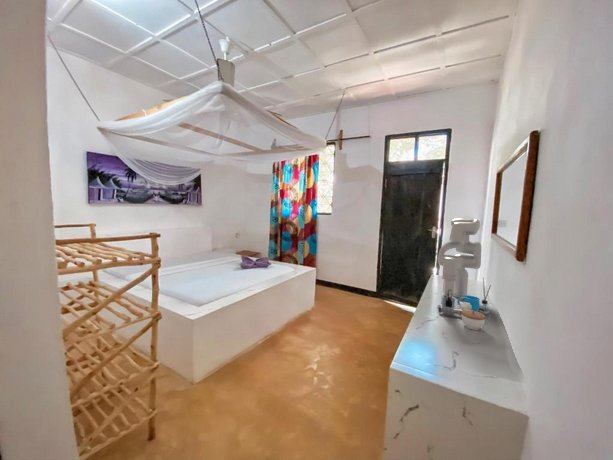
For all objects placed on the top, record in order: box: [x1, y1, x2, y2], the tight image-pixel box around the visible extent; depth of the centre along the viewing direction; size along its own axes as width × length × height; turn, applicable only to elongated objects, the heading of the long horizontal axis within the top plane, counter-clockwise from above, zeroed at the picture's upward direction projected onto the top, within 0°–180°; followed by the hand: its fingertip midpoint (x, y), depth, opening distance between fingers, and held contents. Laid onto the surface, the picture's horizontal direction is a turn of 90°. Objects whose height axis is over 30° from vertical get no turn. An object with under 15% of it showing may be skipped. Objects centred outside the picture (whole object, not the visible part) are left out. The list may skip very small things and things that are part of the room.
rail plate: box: [436, 301, 472, 320], centre depth 151 cm, size 14×18×7 cm
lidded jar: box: [461, 310, 486, 331], centre depth 133 cm, size 11×11×9 cm
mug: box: [457, 295, 480, 312], centre depth 158 cm, size 12×8×8 cm
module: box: [440, 294, 456, 309], centre depth 152 cm, size 7×6×6 cm
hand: (447, 304), depth 152 cm, fingers closed on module, 6 cm apart
